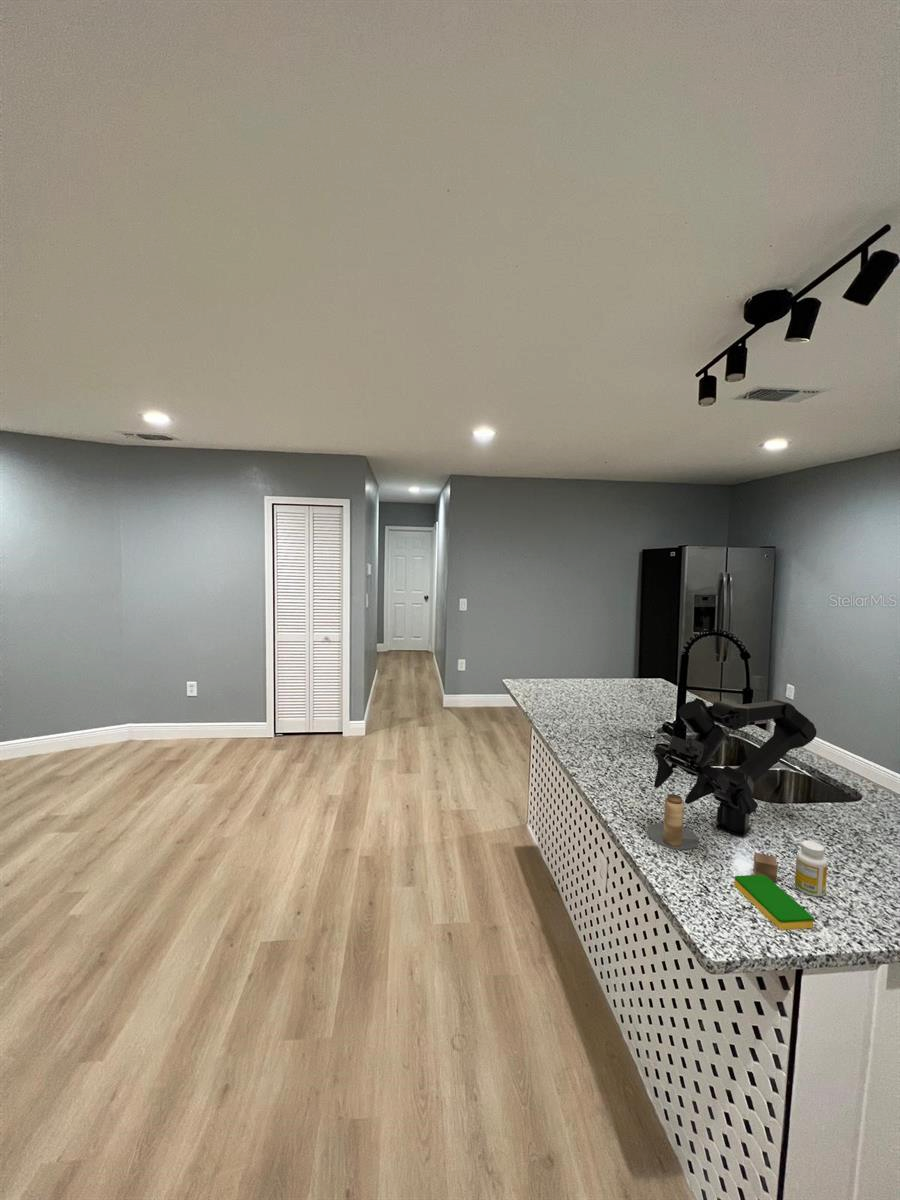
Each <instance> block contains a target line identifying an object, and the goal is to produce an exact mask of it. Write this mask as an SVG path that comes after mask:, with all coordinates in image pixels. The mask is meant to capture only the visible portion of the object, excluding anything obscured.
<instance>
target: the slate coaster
mask: <svg viewBox="0 0 900 1200" xmlns="http://www.w3.org/2000/svg"><path fill="white" fill-rule="evenodd" d="M646 834H647V836H648V838H649V839H650V840H652V841H653V842H654V843H656V844H657V845H660V846H663V847H664V848H668V849H673V850H678V851H679V850H681V851H686V850H692V849H694V848H696V847H698V845H699V842H700V841H699V837H698V836H697V835H696V834H695V833H694V832H693V831H691V830H690V829H688V828H686V827H683V830H682V845H681V846H680V847H672V846H669V845H667V844H665V843H664V842H663V834H664V822H659V823H656V822H655V823H653V824H650V825H649V826H648V827H647V829H646Z"/></svg>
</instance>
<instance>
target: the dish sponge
mask: <svg viewBox="0 0 900 1200" xmlns="http://www.w3.org/2000/svg"><path fill="white" fill-rule="evenodd" d="M733 886H735V888H737V890H739V892H740V893H741V894H742V895H743V896H745V898H746V899H747V900H749V902H751V903H752V905H754V907H756V908H757V909H758V910H759V912H760V913H761V914H763V915H764V916H765V917H766V918H767V919H768V920H769V921H770V922H771V921H772V922H773V923H774V924H775V925H776V926H777V927H778V928H779V929H778V928H777V927H776V926H775V925H774V924H773V923H772V922H771V923H772V924H773V925H774V926H775V927H776V928H777V929H778V930H780V929H781V930H782V929H783V930H800V929H801V930H804V929H813V928H814V923H815V922H814V920H815V917H814V916H813V915H812V914H811V913H810V912H809V911H807V910H806V909H805V908H803V907H802V906H801V905H800V904H799V903H798V902H797V901H796V900H795V899H793V898H792V897H791V896H790V895H789V894H788V893H786V891H784V890H783V889H782V888H781V887H779V886H778V885H777V883H774V882H773V881H771V880H770V879H769V878H768V877H767V876H765V875H754V874H750V875H749V874H748V875H734V883H733ZM781 930H780V931H781Z"/></svg>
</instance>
